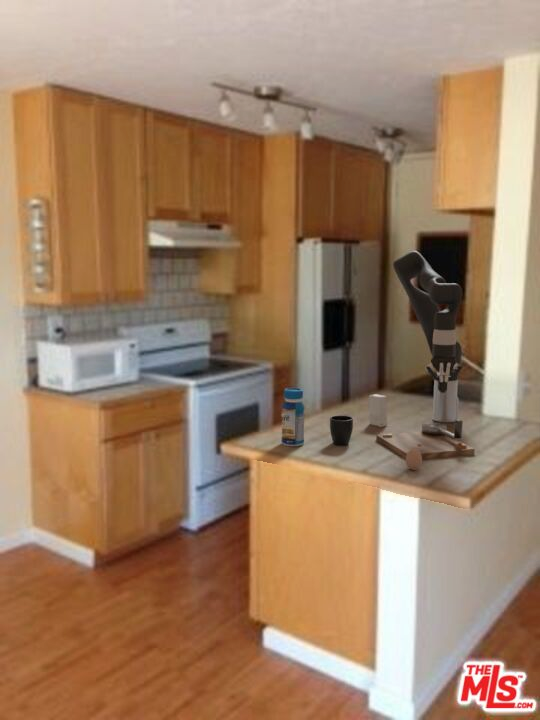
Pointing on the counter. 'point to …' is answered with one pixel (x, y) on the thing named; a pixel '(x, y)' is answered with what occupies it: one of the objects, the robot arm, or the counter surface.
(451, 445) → the board
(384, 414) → the skincare box
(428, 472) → the counter surface
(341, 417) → the mug
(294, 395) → the beverage bottle
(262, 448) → the counter surface
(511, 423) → the counter surface
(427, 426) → the crank handle
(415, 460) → the egg
